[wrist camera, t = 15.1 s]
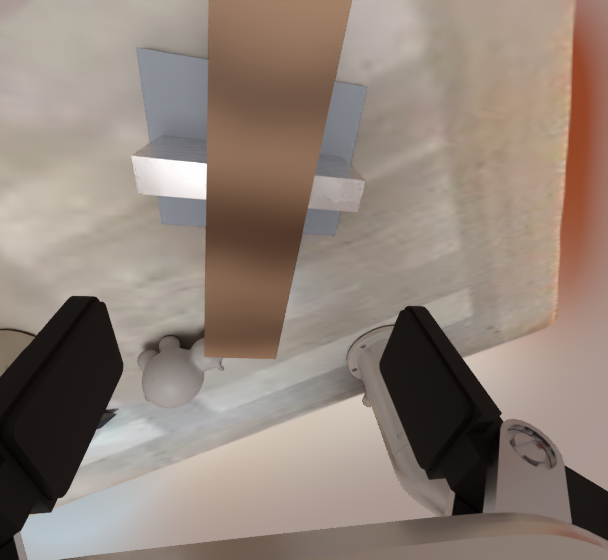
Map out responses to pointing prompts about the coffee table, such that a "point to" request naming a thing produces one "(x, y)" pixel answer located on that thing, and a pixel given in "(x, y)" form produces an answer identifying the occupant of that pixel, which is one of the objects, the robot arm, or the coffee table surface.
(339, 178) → the steel ridge
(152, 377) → the round bodied animal figurine
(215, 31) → the walnut batten
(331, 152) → the fulcrum base
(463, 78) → the coffee table surface
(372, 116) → the coffee table surface
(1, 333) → the travel mug
